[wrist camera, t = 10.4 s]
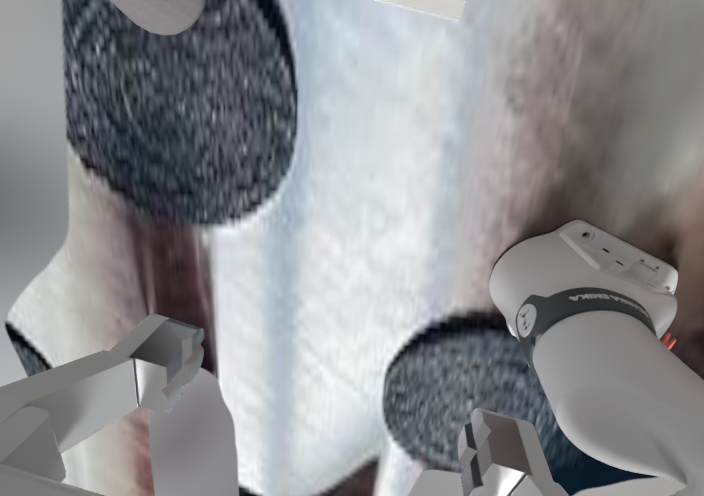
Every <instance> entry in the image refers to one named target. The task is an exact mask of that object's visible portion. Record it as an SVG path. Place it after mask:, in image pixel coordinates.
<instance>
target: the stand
mask: <svg viewBox="0 0 704 496" xmlns="http://www.w3.org/2000/svg"><path fill="white" fill-rule="evenodd" d="M374 1H378V2H381V3H385V4H389V5H393V6H397V7H401V8H405V9H409V10H412V11H416V12H420V13H424V14H428V15H432V16H436V17H440V18H443V19H447V20H451V21H455V22H459V21H460V18H461V15H462V12H463V8H464V5H465V2H466V0H374Z"/></svg>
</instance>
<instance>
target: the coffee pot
mask: <svg viewBox="0 0 704 496" xmlns="http://www.w3.org/2000/svg"><path fill="white" fill-rule="evenodd" d="M110 1H111V2H112V3H113V4H115V5H116V6H117V7H118V8H119V9H120V10H121V11H122V12H123V13H124V14H125V15H127V16H128V17H129V18H130V19H131V20H132V21H133V22H134V23H135V24H137V25H138V26H140V27H142V28H144V29H146V30H147V31H149V32H152V33H156V34H160V35H173V34H178V33H180V32H182V31H184V30H186V29H188V28H189V27H190V26H191V25H192V24H193V23H194V22H195V21H196V20H197V19H198V18H199V16H200V14H201V12H202V10H203V9H204V7H205V3H206V0H110Z"/></svg>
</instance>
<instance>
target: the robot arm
mask: <svg viewBox="0 0 704 496" xmlns="http://www.w3.org/2000/svg"><path fill="white" fill-rule="evenodd" d="M585 232H588V233H587V235H585V236H582V235H583V234H584V233H585ZM677 281H678V272H677V270H676V269H675V268H674V267H672V266H671V265H669V264H668V263H666V262H664V261H662V260H660V259H658V258H656V257H654V256H652V255H650V254H648V253H646V252H644V251H642V250H640V249H638V248H636V247H634V246H632V245H630V244H628V243H626V242H624V241H622V240H620V239H618V238H616V237H614V236H612V235H610V234H608V233H606V232H604V231H602V230H600V229H598V228H596V227H594V226H592V225H590V224H588V223H586V222H584V221H582V220H574V221H571V222H569V223H567V224H565V225H563V226H562V227H560V228H559V229H557V230H555V231H554V232H551V233H548V234H544V235H540V236H536V237H533V238H530V239H527V240H525V241H523V242H521V243H519V244H517V245H515V246H514V247H512V248H511V249H510V250H508V251H507V252H506V253H505V254H504V255H503V256H502V257H501V258H500V259H499V261H498V262H497V264H496V265H495V267H494V269H493V271H492V274H491V277H490V294H491V297H492V300H493V302H494V303H495V305H496V306H497V308H498V309H499V310H500V311H501V312H502V314H503V315H504V317H505V318H506V322H507V326H508V329H509V331H510V332H511V334H512V335H513V336H516V337H517V339H518V340H519V342H520V345H521V348H522V350H523V353H524V355H525V358H526V360H527V364H528V366H529V367H530V368H531V370H532V372H533V374H534V375H535V376H536V377H537V378H538V379H539V380H540V382H541V384H542V387H543V389H544V392H545V394H546V396H547V399H548V401H549V403H550V406H551V408H552V410H553V413H554V415H555V417H556V420H557V422H558V425H559V426H560V428H561V430H562V431H563V432H564V434H565V435H566V436H567V438H568V439H569V440H570V441H571V442H572V443H573V444H574V445H575V446H577V447H578V448H579V449H580V450H582V451H583V452H585V453H586V454H588V455H589V456H591V457H593V458H595V459H597V460H599V461H602V462H604V463H606V464H608V465H611V466H613V467H616V468H620V469H623V470H626V471H631V472H636V473H642V474H648V475H654V476H659V477H663V478H667V479H670V480H673V481H676V482H678V483H681V484H683V485H685V486H686V487H685V488H684V489H683V490H681V491H678V492H676V494H674V495H671V496H704V380H703V379H701V378H700V377H699V376H698V375H697V374H696V373H694V372H693V371H692V370H691V369H690V368H689V367H688V366H686V365H685V364H684V363H683V362H682V361H681V360H680V359H679V358H677V357H676V356H675V355H674V354H673V353H672V352H671V351H670V350H669V349H670V348H671V347H672V346H673V344H674V343H675V341H676V339H673V340H671V341H670V342H669V343H668V341H669V339H670V336H671V334H670V333H667V334H666V335H665V336H664V337H663V338H662V339H661V341H660V340H659V339H660V338H661V337H662V335H663V334H664V333H665V332H666V330H667V329H668V328H669V326H670V324H671V323H672V321H673V319H674V317H675V315H676V311H677V300H676V298H675V296H674V295H673V294H674V292H675V289H676V286H677ZM665 286H666V287H665ZM203 339H204V330H203V329H202V328H199V327H196V326H193V325H190V324H187V323H183V322H180V321H177V320H174V319H171V318H167V317H164V316H160V315H157V314H151V315H149V316H147V317H146V318H145V319H144V320H143V321H142V322H141V323H140V324H138V325H137V326H136V327H135V328H134V329H133V330H132V331H131V332H130V333H129V334H127V335H126V336H125V337H124V338H123V339H122V340H121V341H120V342H119V343H118V344H117V345H115V346H114V347H113V348H112V349H111V350H110V351H109V352H108V351H105V350H103V351H100V352H97V353H94V354H92V355H89V356H86V357H83V358H80V359H78V360H75V361H72V362H69V363H67V364H64V365H61V366H58V367H55V368H53V369H50V370H47V371H44V372H41V373H39V374H36V375H33V376H30V377H27V378H25V379H22V380H19V381H16V382H14V383H11V384H8V385H5V386H2V387H0V496H104V495H101V494H98V493H94V492H91V491H88V490H84V489H81V488H78V487H75V486H71V485H68V484H65V483H62V481H63V479H64V478H65V475H66V471H65V467H64V464H63V460H62V457H61V453H63V452H64V451H66V450H68V449H70V448H71V447H73V446H75V445H76V444H78V443H80V442H81V441H83V440H85V439H86V438H88V437H90V436H91V435H93V434H95V433H96V432H98V431H100V430H101V429H103V428H105V427H106V426H108V425H110V424H111V423H113V422H115V421H116V420H118V419H120V418H121V417H123V416H125V415H127V414H128V413H130V412H132V411H133V410H135V409H137V408H138V406H140V407H144V408H148V409H151V410H155V411H159V412H163V413H166V414H168V413H169V411H170V410H171V409H172V408H173V406H174V405H175V403H176V402H177V401H178V399H179V398H180V397H181V395H182V386H183V385H185V384H187V383H189V382H191V381H192V380H193V378H194V377H195V375H196V374H197V372H198V370H199V368H200V366H201V363H202V360H203V355H204V349H203V348H202V346H201V345H200V343H201V342H202V341H203ZM470 417H471V423H469V424H466V425H464V427H463V429H462V431H461V432H460V436H459V441H458V456H459V461H460V462H461V464H462V465H463V467H464V468H465V471H464V472H463V474H462V476H461V480H462V487H463V495H464V496H569V495H568V494H567V493H566V491H565V490H564V489H563V488H562V487H561V486H560V484H558V483H555V482H553V479H552V476H551V474H550V471H549V468H548V465H547V462H546V460H545V457H544V454H543V451H542V448H541V445H540V443H539V440H538V437H537V434H536V431H535V429H534V426H533V425H532V424H531V423H530V422H527V421H523V420H520V419H516V418H511V417H510V416H506V415H502V414H499V413H495V412H492V411H488V410H484V409H481V408H476V409H474V410H473V412H472V414H471V415H470Z"/></svg>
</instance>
